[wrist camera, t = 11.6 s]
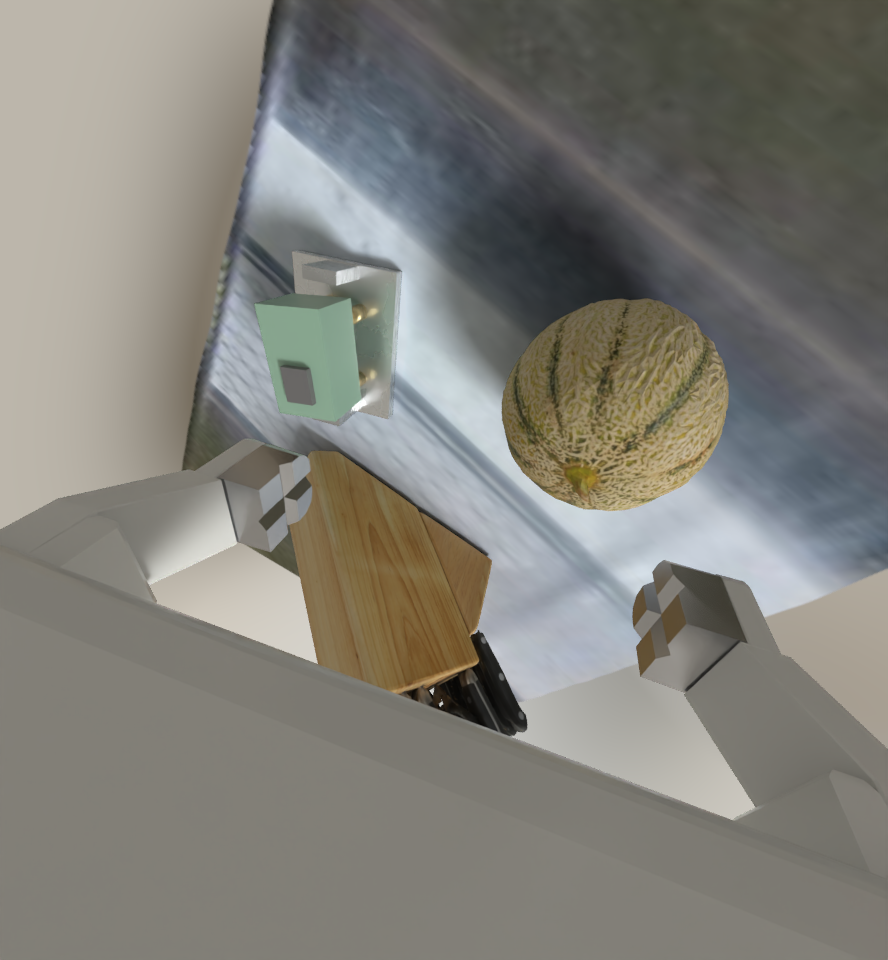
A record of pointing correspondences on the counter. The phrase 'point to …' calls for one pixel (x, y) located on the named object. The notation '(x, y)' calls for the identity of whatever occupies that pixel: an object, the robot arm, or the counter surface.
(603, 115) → the counter surface
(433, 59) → the counter surface
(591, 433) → the cantaloupe
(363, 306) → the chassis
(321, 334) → the green box
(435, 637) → the knife block
